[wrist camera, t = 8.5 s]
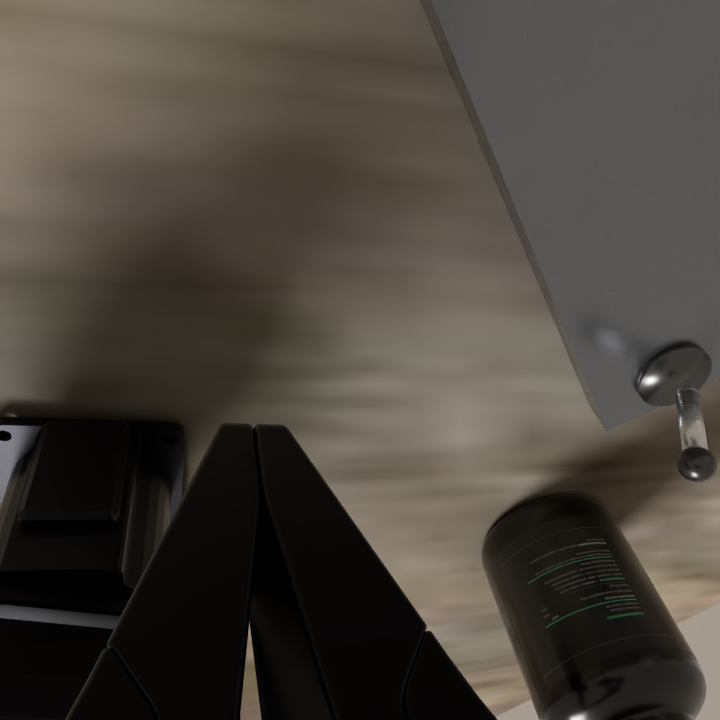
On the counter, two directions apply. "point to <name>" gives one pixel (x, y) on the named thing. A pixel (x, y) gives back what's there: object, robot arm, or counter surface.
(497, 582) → the supplement bottle
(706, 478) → the toggle lever
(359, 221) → the counter surface
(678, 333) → the console
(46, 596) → the robot arm
